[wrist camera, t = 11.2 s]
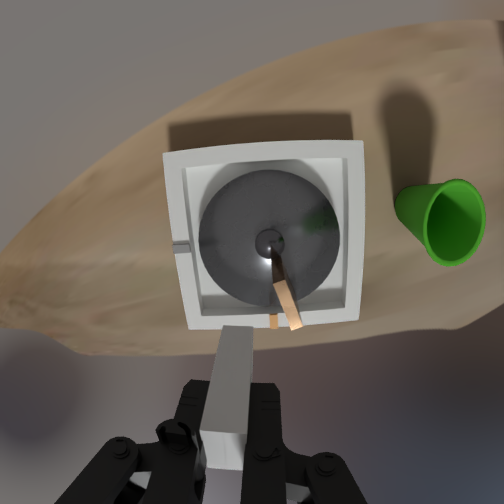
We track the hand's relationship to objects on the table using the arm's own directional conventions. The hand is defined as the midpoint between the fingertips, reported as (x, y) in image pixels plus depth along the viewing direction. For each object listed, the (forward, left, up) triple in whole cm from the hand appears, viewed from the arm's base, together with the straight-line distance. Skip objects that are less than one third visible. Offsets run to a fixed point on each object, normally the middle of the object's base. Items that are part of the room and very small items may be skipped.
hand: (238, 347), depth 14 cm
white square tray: (-2, 0, -22) cm, 22 cm away
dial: (-2, 0, -21) cm, 21 cm away
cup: (-21, -3, -23) cm, 31 cm away
